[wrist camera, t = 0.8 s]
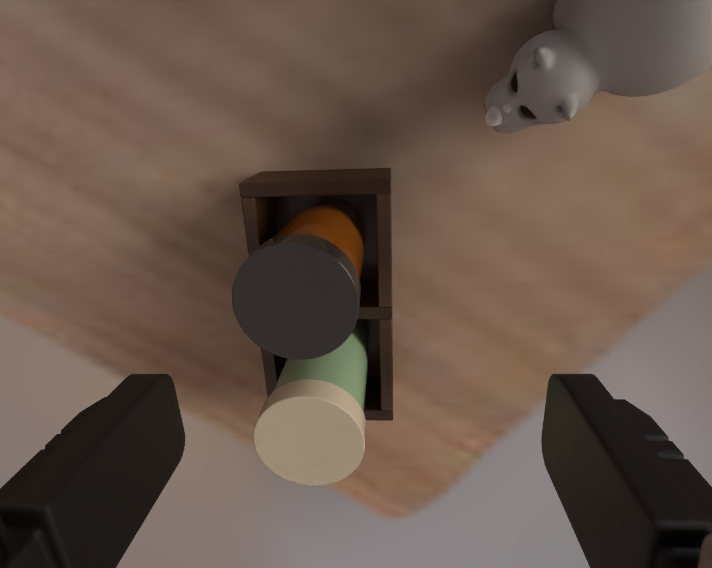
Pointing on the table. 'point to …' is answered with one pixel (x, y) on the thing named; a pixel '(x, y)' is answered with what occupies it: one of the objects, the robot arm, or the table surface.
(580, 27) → the chubby cartoon animal
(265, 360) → the jar stand
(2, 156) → the table surface
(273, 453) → the green jar
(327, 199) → the amber jar
